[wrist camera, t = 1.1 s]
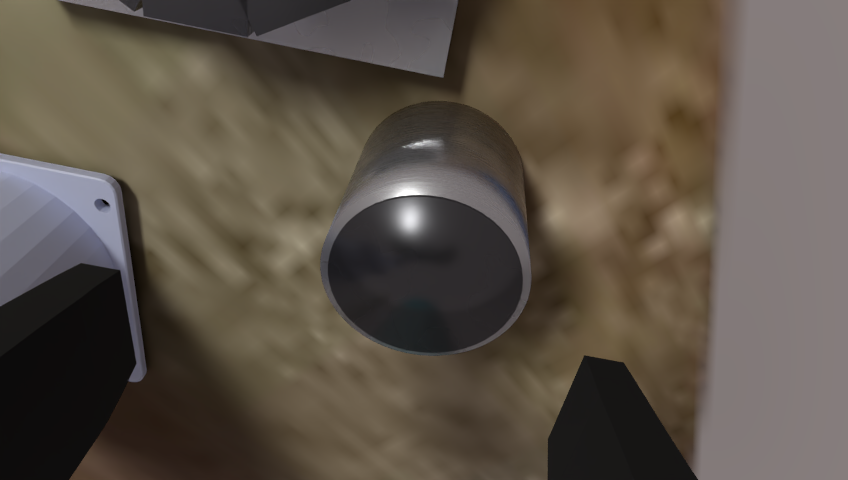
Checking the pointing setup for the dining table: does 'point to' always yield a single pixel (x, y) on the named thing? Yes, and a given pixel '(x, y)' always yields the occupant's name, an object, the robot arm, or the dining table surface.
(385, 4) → the barrel stand
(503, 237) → the dark grey round knob
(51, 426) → the robot arm
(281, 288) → the dining table surface
